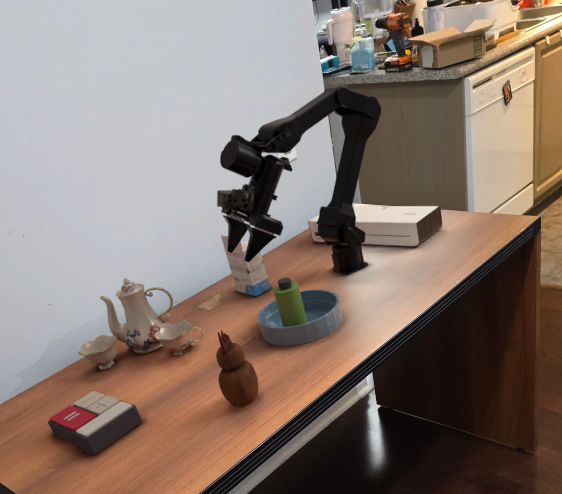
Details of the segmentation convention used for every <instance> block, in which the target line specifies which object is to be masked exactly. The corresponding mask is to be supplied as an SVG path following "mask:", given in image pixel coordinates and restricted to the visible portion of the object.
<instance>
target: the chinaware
mask: <svg viewBox="0 0 562 494" xmlns="http://www.w3.org/2000/svg"><path fill="white" fill-rule="evenodd" d="M122 283H123V284H122V285H121V287H120V289H119V290H117V291H116V292H115V297H117V299H118V300H119V301H120V303H121V306H122V308H123V311H124V312H123V313H124V317H125V319H124V320H125V323H123V324H122V323H121V322H120V321H119V319H118V316H117V312H116V308H115V305H114V303H113V302H112V300H111V299H110V298H109V297H108V296H105V295H101V296H99V297H98V298H99V300H102V301H103V302H104V303H105V305H106V314H107V324H108V325H107V326H108V329H109V331H110V333H111V334H112V335H111V336H110V335H108V334H101V335H99V336H97V337H96V338H94V340H90V341H86V342H83V343H82V345H81V346H80V350H78V355H80V356H83V357H84V358H85V360H86V361H87V362H88V363H90V364H92V365H94V366H98V368H99V369H100V370H107V369H110V368H111V367H112V366H114V365H115V362H114V361H113V360H114V359H115V358H116V355H117V353H118V352H117V351H118V350H117V348H118V347H117V341H119V342H121V343H124V344H126V346H127V347H128V348H130V349H132V351H133V353H135V354H149V353H153V352H154V351H157V350H160V349H161V348H162V347H163V348H165V350H168V351H170V352H173V356H182V355H184V354H185V352H184V351H186V349H187V348H188V347H189V346H190V347H193V346H194V342H199V341H201V340H202V339H203V337H204V332H203V330H202V329H201V328H200V327H196V326H195V323H193V322H190V321H189V320H187V319H180V320H178V321H177V322H175V323H170V322H169V321H170V320H171V314H170V313H169V312H170V311H171V310H172V308H173V305H174V298H173V296H172V293H170V292H169V290H167V289H166V288H165V287H161V286H153V287H149V288H147V289H145V284H144V283H141V282H140V283H138V282H137V283H136V282H134V281H131V280H130V279H129V278H127V277H124V278H123V282H122ZM153 291H161V292H163V293H165V294H166V295H167V296H168V298H169V302H170V303H169V306H168V307H167V309H166V310H165V311H163V312H161V313H159V314H158V313H156V312H155V310H154V309H153V307H152V306H151V305H150V303H149V301H148V298H147V297H149V298H152V297H153V296H154V293H153ZM168 322H169V323H168ZM196 330H198V331H200V332H201V336H200V338H199V339H193V331H194V332H196ZM192 339H193V340H192Z"/></svg>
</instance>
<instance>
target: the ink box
mask: <svg viewBox="0 0 562 494" xmlns="http://www.w3.org/2000/svg"><path fill="white" fill-rule="evenodd" d="M220 238H221V241H222V245H223V249H224V252H225V256H226V259H227V263H228V266H229V269H230V273H231V276H232V279H233V282H234V283H233V284H234V286H235V289H236V292H238V293H242V294H246V295H249V296H253V297H258V296H259V295H262V294H263V293H265V292H267V291H269V290H270V289H271V284H270V282H269V277H268V274H267V270H266V267H265V264H264V263H265V262H264V260H263V257H262V253H261V251H260V252H259V253H258V254H257V255H256V256H255V257H254V258H253V259H252V260H251V261H250V262H246V261H245V254H246V250H247V246H248V242H249V241H245V240H241V241H240V242H239V244H238V245H237V247H236V248H235V249H234V251H233V252H232V253H230V252H228V251H227V246H228V235H223V234H221V235H220Z"/></svg>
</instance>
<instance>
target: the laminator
mask: <svg viewBox="0 0 562 494" xmlns="http://www.w3.org/2000/svg"><path fill="white" fill-rule="evenodd" d="M353 209H354V212H355V216H356V223H355V226H356V227H358V228H359V229H361V230H362V231H364V232H365V242H363V243H362V244H361V246H362V245H363V246H380V247H381V246H382V247H383V246H384V247H401V248H402V247H405V248H417V247H419V246H420V245H421V244H422V243H423V242H424V241H426V240H427V239H429V238H430V237H431V236H432V235H434V234H435V233H436V232H437V231H438V230H441V229H442V228H443V217H442V207H441V206H440V205H436V206H435V205H385V206H384V205H376V206H375V205H357V206H356V205H354V206H353ZM318 218H319V213H318V214H316V215H314V216H313V217H312V218H310V219H308V221H307V224H308V228H309V232H310V237H311V240H312V241H313V242H314V243H318V244H326V243H325V241H324V240H323V239H322V238H321V237H320V235H319V233H318V224H316V223H317V221H318Z"/></svg>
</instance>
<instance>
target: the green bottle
mask: <svg viewBox="0 0 562 494" xmlns="http://www.w3.org/2000/svg"><path fill="white" fill-rule="evenodd" d="M300 291H301V290H300V286H299V283H298V282H296V281H292V279H291V277H288V276H287V277H282V278H279V279H278V280H277V285H276V286H275V287H274V288H273V295H274V297H275V299H276V302H277V306H278V310H279V313H280V317H281V321H282V325H283V327H288V326H296V325H300V324H305V323H308V322H307V318H306V314H305V310H304V306H303V302H302V298H301V294H300ZM275 299H274V300H275Z"/></svg>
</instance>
